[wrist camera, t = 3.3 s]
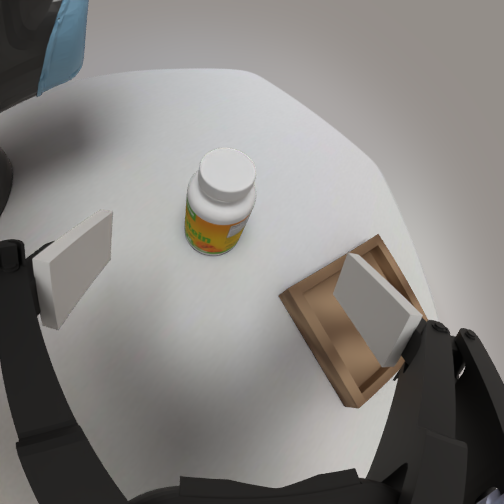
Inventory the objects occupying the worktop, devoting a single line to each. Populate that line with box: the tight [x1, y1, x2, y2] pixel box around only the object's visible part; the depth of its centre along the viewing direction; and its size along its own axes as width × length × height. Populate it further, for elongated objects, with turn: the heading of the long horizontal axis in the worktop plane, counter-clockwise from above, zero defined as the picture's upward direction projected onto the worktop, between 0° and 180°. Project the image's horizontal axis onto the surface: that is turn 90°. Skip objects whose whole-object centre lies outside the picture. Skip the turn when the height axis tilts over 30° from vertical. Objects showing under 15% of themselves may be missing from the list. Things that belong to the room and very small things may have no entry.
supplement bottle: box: [185, 148, 256, 256], centre depth 23 cm, size 5×5×10 cm
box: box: [279, 234, 428, 408], centre depth 27 cm, size 13×13×2 cm
